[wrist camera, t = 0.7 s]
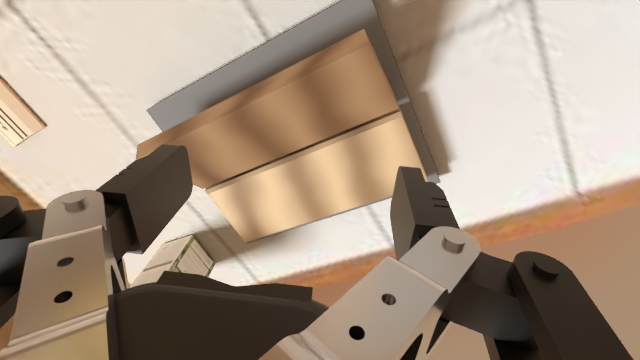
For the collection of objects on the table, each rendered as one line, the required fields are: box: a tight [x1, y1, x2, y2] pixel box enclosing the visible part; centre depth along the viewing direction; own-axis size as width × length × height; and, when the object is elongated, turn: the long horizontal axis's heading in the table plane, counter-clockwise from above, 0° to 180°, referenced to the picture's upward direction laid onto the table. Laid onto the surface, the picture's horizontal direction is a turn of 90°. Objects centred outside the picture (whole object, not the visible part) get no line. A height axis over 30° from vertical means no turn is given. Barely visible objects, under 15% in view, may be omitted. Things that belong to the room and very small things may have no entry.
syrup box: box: [129, 235, 215, 288], centre depth 40 cm, size 6×6×14 cm
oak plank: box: [205, 106, 428, 242], centre depth 34 cm, size 22×8×2 cm, turn 117°
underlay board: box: [146, 0, 440, 243], centre depth 34 cm, size 24×19×1 cm
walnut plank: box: [136, 29, 399, 189], centre depth 29 cm, size 22×8×2 cm
